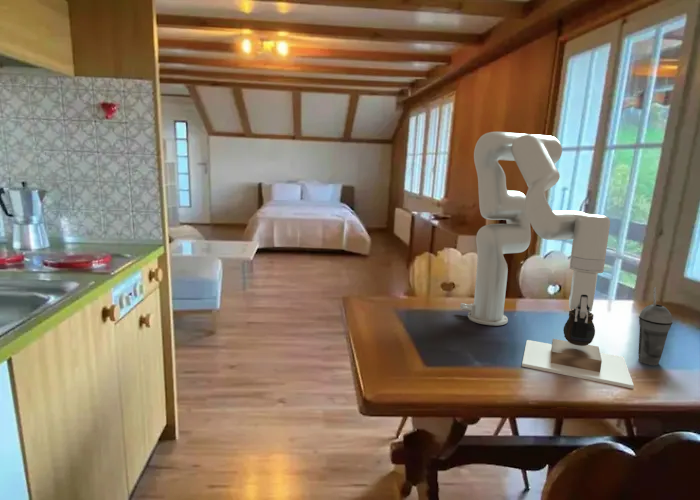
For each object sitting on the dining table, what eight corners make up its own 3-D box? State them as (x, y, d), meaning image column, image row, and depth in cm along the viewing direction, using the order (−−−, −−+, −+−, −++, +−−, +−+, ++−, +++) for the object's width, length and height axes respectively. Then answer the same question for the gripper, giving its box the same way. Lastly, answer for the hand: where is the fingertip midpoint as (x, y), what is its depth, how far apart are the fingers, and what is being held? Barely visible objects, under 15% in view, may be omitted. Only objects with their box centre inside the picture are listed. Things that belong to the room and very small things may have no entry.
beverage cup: (666, 370, 113) (679, 293, 109) (632, 362, 116) (644, 288, 113) (664, 360, 119) (676, 287, 115) (632, 353, 123) (643, 283, 119)
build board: (521, 366, 112) (522, 363, 112) (526, 342, 128) (526, 339, 128) (633, 388, 102) (633, 385, 102) (623, 359, 118) (623, 356, 118)
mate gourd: (579, 349, 109) (584, 310, 108) (554, 339, 116) (558, 302, 114) (600, 346, 112) (604, 307, 110) (574, 335, 119) (578, 299, 117)
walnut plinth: (550, 362, 113) (552, 351, 112) (551, 349, 122) (552, 338, 121) (600, 372, 108) (601, 360, 108) (596, 357, 117) (598, 346, 117)
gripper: (569, 256, 120) (561, 319, 123) (570, 268, 104) (561, 340, 107) (601, 260, 117) (592, 324, 120) (607, 272, 101) (597, 346, 104)
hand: (578, 331), depth 114 cm, fingers closed on mate gourd, 7 cm apart
